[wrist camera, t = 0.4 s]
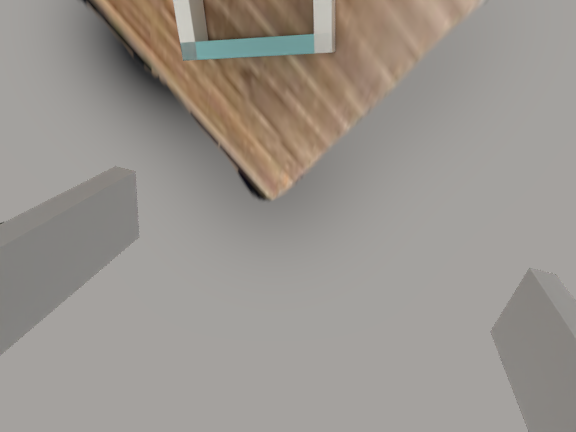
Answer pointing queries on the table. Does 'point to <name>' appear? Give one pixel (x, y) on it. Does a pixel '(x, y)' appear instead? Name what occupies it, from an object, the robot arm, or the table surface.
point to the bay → (199, 47)
